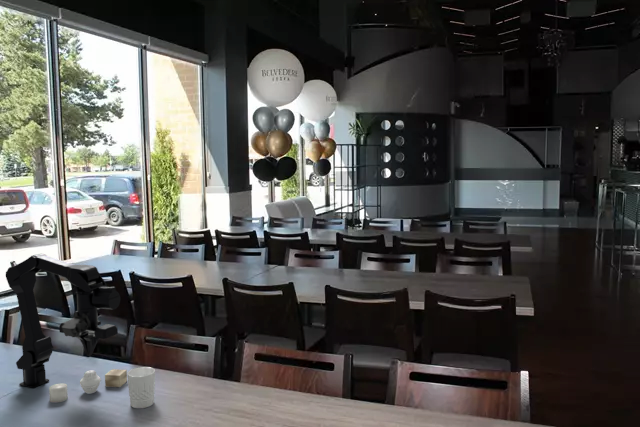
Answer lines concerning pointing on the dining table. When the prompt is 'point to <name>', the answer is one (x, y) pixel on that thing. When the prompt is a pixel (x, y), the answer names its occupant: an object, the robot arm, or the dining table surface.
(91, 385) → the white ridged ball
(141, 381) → the white cup
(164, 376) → the dining table surface
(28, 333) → the robot arm
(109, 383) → the maple block
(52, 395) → the white rounded lump
